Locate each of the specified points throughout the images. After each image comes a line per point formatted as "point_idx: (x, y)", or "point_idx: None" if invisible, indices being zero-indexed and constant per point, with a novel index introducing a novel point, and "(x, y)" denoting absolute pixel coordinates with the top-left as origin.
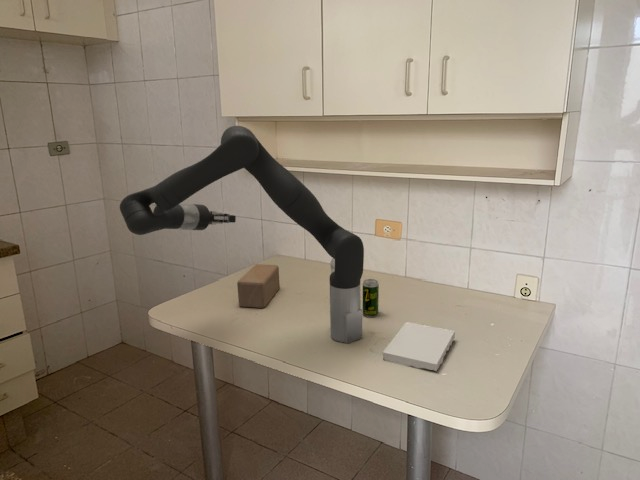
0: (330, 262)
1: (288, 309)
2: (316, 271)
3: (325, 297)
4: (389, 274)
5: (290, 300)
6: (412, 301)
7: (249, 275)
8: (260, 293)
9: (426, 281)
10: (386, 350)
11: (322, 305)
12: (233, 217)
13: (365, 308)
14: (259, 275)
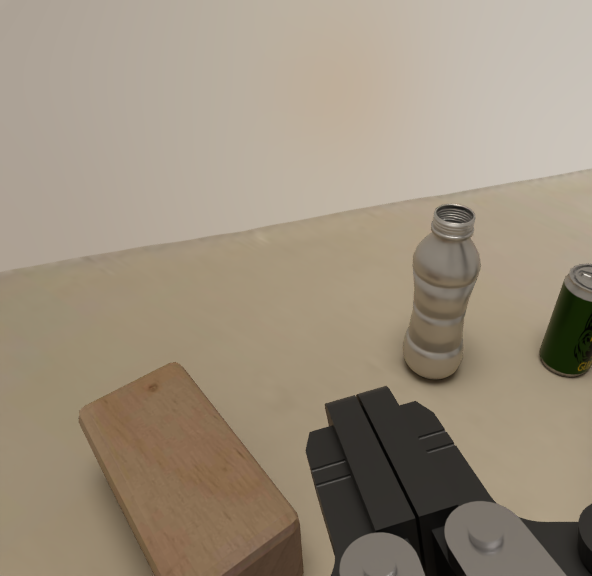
0: (427, 270)
1: None
2: (186, 285)
3: (370, 370)
4: (352, 210)
5: None
6: (532, 262)
7: (169, 509)
8: (293, 554)
9: (442, 195)
10: None
11: None
12: (446, 437)
13: (582, 359)
14: (210, 475)
